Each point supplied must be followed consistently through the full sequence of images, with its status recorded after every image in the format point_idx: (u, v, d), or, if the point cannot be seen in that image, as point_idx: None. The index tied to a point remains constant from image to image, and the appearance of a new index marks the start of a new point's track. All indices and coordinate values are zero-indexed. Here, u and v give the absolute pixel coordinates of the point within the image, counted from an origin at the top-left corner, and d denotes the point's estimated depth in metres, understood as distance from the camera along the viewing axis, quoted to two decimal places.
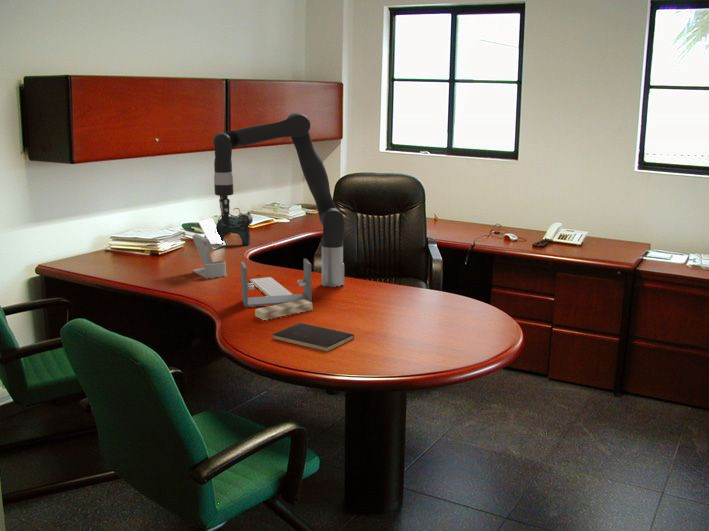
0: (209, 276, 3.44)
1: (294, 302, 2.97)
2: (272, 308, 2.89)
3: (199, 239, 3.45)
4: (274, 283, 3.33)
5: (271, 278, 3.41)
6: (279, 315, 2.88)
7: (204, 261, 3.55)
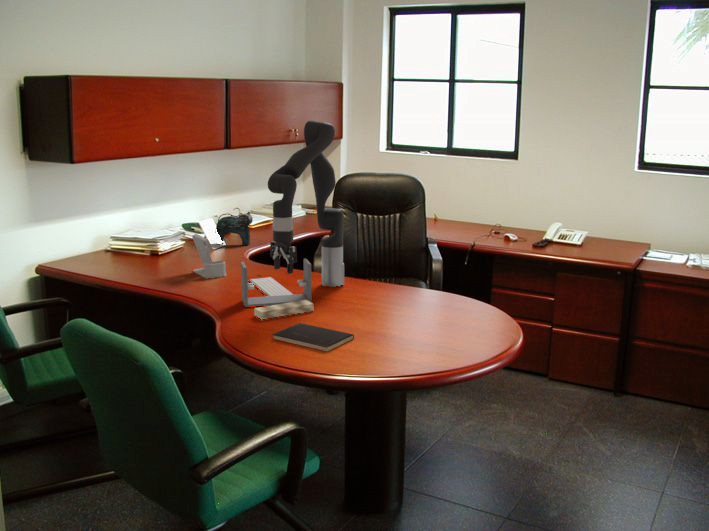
0: (208, 276, 3.44)
1: (295, 302, 2.96)
2: (272, 307, 2.90)
3: (199, 239, 3.45)
4: (274, 283, 3.33)
5: (271, 278, 3.41)
6: (278, 315, 2.88)
7: (204, 261, 3.55)
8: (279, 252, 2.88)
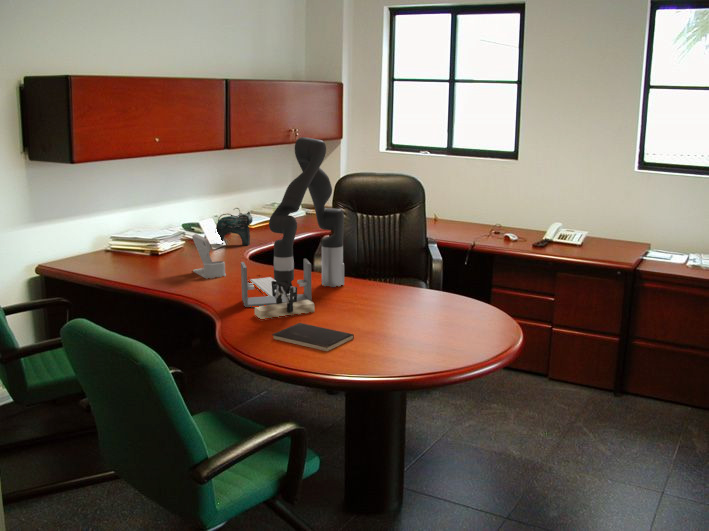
0: (208, 276, 3.44)
1: (296, 302, 2.96)
2: (272, 306, 2.90)
3: (198, 239, 3.45)
4: None
5: (271, 278, 3.41)
6: (277, 314, 2.88)
7: (204, 261, 3.55)
8: (280, 290, 2.91)
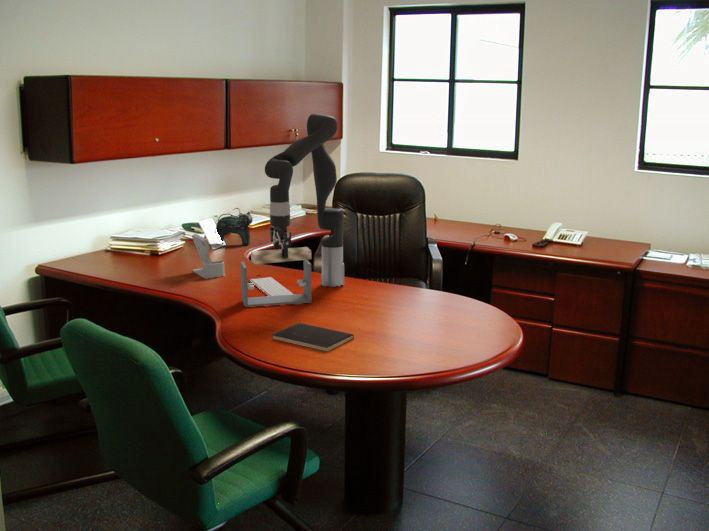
0: (207, 276, 3.44)
1: (294, 248, 2.96)
2: (268, 251, 2.92)
3: (198, 239, 3.45)
4: (275, 283, 3.33)
5: (271, 278, 3.41)
6: (272, 259, 2.90)
7: (203, 261, 3.55)
8: (277, 236, 2.92)
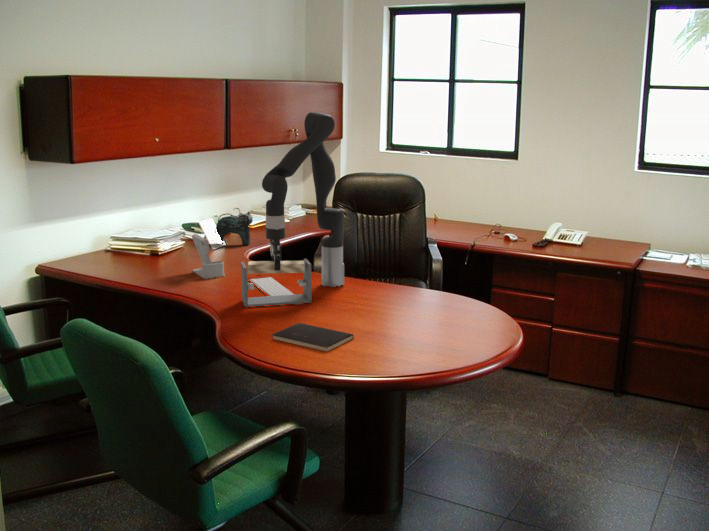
0: (206, 276, 3.44)
1: (290, 261, 3.06)
2: (263, 262, 3.04)
3: (197, 239, 3.45)
4: (275, 283, 3.33)
5: (271, 278, 3.41)
6: (265, 270, 3.01)
7: (203, 261, 3.55)
8: None
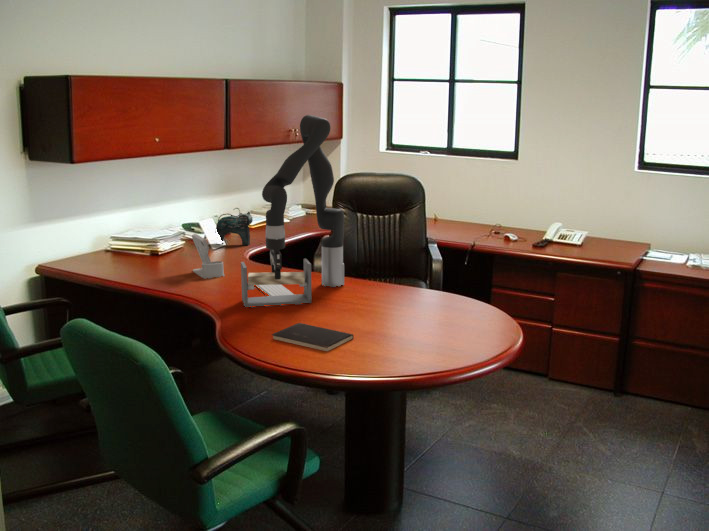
0: (206, 276, 3.44)
1: (290, 273, 3.07)
2: (263, 274, 3.05)
3: (197, 239, 3.45)
4: None
5: None
6: (265, 281, 3.03)
7: (203, 261, 3.55)
8: None
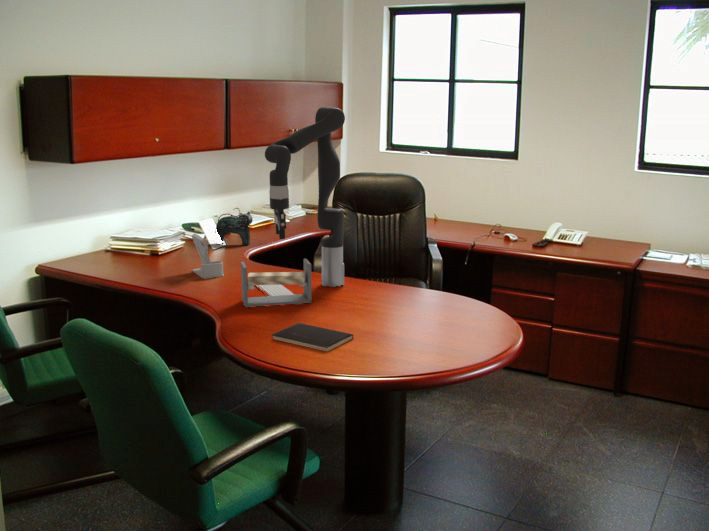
0: (205, 276, 3.44)
1: (290, 273, 3.07)
2: (263, 274, 3.05)
3: (197, 239, 3.46)
4: None
5: None
6: (265, 281, 3.03)
7: (203, 261, 3.55)
8: None
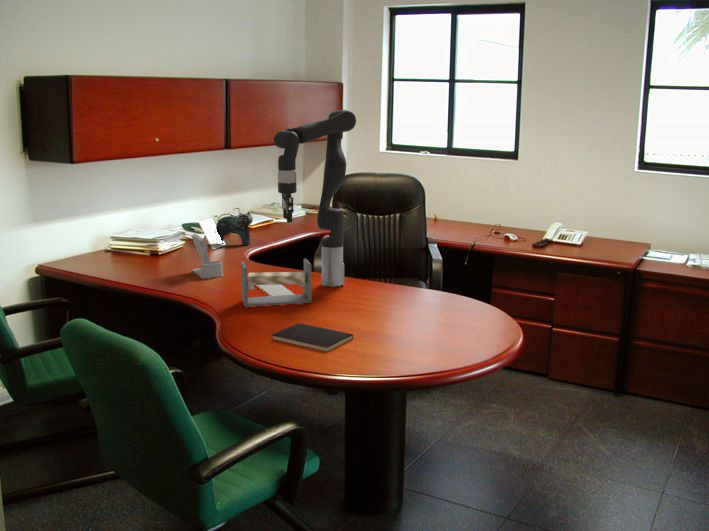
0: (205, 276, 3.44)
1: (290, 273, 3.07)
2: (263, 274, 3.05)
3: (196, 239, 3.46)
4: None
5: None
6: (265, 281, 3.03)
7: (203, 261, 3.55)
8: (284, 202, 3.16)
